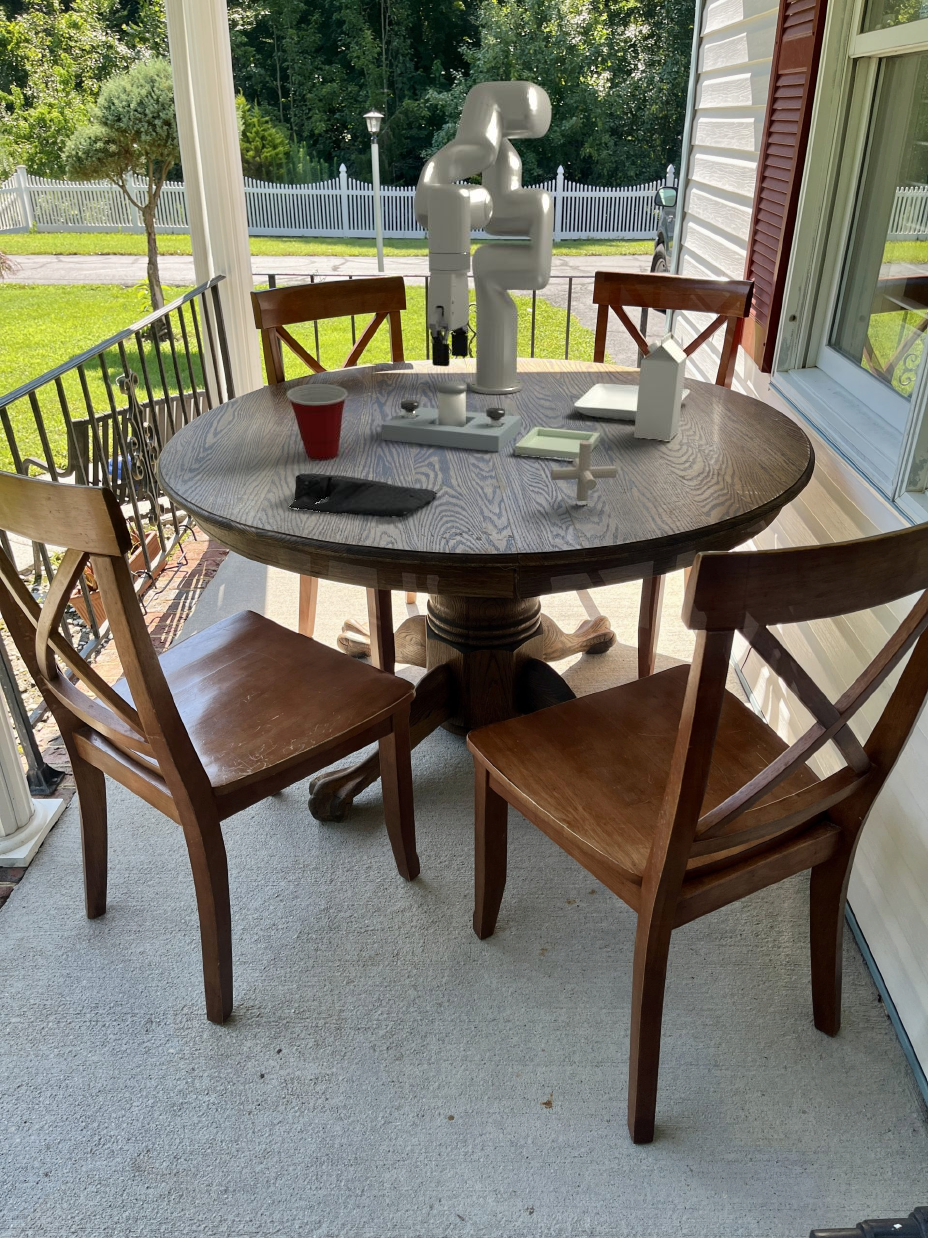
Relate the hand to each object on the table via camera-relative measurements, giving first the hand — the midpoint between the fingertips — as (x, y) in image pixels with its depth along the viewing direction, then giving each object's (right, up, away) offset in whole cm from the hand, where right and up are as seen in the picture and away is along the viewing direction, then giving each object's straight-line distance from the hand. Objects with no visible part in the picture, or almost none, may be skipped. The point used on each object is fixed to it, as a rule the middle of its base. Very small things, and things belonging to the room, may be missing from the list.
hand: (450, 360), depth 160 cm
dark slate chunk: (-14, -31, -23) cm, 41 cm away
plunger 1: (-8, -11, +10) cm, 17 cm away
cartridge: (0, -13, +7) cm, 15 cm away
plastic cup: (-24, -19, -3) cm, 30 cm away
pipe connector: (+21, -31, -26) cm, 45 cm away
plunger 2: (+9, -14, +4) cm, 17 cm away
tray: (+20, -17, -1) cm, 26 cm away
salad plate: (+39, -4, +23) cm, 45 cm away
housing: (0, -12, +7) cm, 15 cm away
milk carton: (+40, -13, +6) cm, 43 cm away
